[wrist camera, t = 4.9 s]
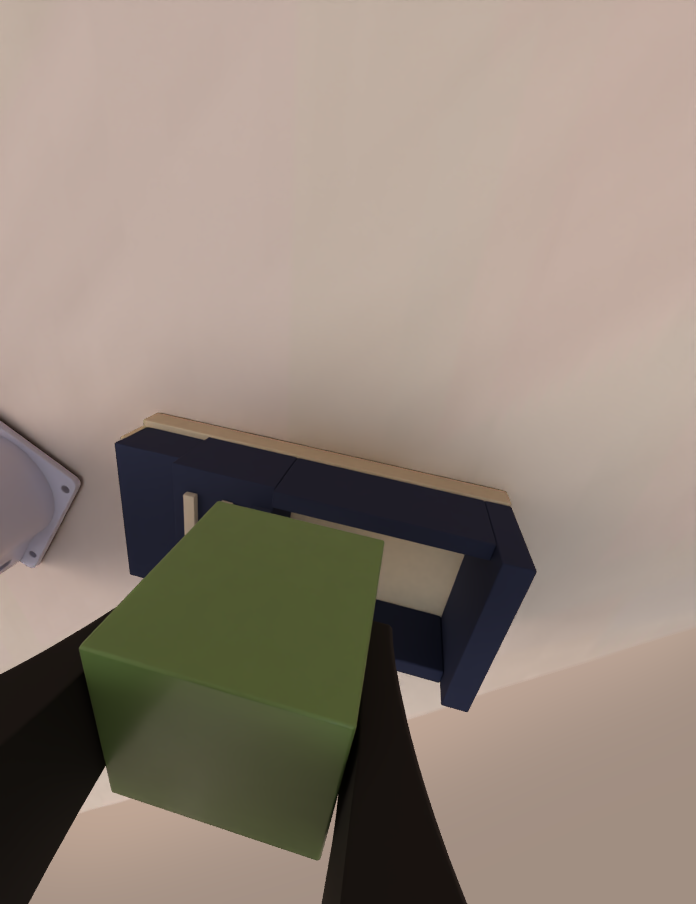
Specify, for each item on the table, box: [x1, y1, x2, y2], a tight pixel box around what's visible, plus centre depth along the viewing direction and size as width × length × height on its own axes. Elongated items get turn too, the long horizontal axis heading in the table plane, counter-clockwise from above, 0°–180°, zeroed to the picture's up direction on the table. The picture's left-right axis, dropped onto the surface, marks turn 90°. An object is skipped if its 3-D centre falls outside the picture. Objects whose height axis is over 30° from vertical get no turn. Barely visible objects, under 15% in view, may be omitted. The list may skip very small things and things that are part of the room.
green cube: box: [79, 501, 384, 860], centre depth 10 cm, size 5×5×5 cm
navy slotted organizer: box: [115, 413, 536, 712], centre depth 18 cm, size 18×8×6 cm, turn 81°
